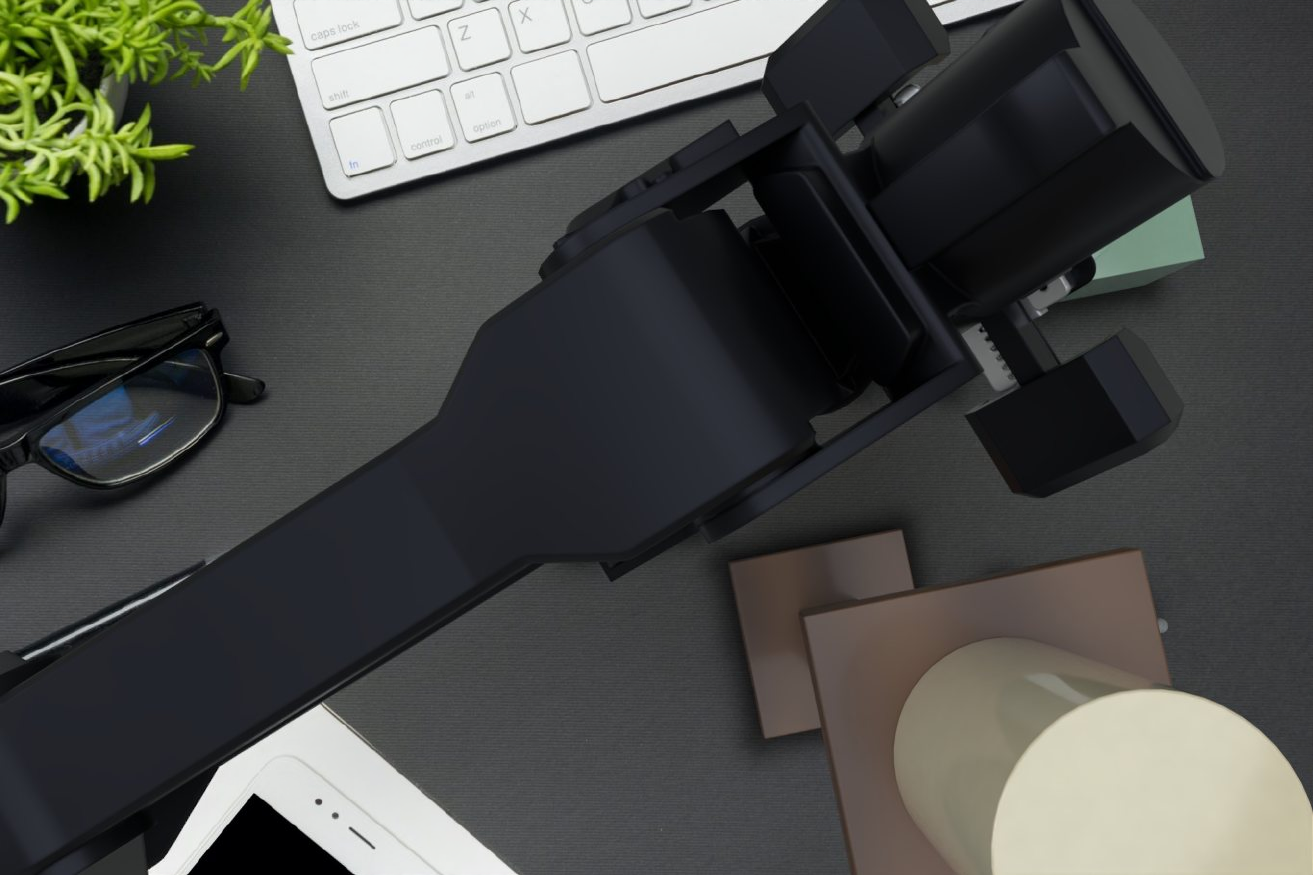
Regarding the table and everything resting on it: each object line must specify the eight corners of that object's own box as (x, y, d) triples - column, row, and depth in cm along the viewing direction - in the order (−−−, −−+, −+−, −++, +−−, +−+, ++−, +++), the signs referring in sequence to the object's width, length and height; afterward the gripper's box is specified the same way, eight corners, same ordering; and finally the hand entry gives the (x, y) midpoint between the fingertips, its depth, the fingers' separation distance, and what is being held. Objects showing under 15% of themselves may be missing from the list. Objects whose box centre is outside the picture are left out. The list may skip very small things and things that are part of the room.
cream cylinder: (919, 897, 27) (1030, 1059, 19) (871, 661, 28) (960, 724, 20) (1150, 850, 27) (1356, 992, 19) (1098, 616, 28) (1280, 660, 20)
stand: (762, 734, 55) (874, 968, 27) (727, 561, 56) (802, 615, 28) (933, 700, 55) (1221, 898, 27) (897, 528, 56) (1142, 547, 28)
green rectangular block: (946, 324, 56) (994, 293, 48) (918, 195, 57) (961, 144, 49) (1144, 285, 57) (1225, 248, 49) (1115, 158, 57) (1191, 100, 49)
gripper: (1307, 434, 27) (1374, 297, 38) (909, -185, 28) (1091, -136, 39) (950, 579, 34) (1096, 428, 46) (647, 89, 35) (864, 62, 47)
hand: (1040, 203), depth 44 cm, fingers closed
